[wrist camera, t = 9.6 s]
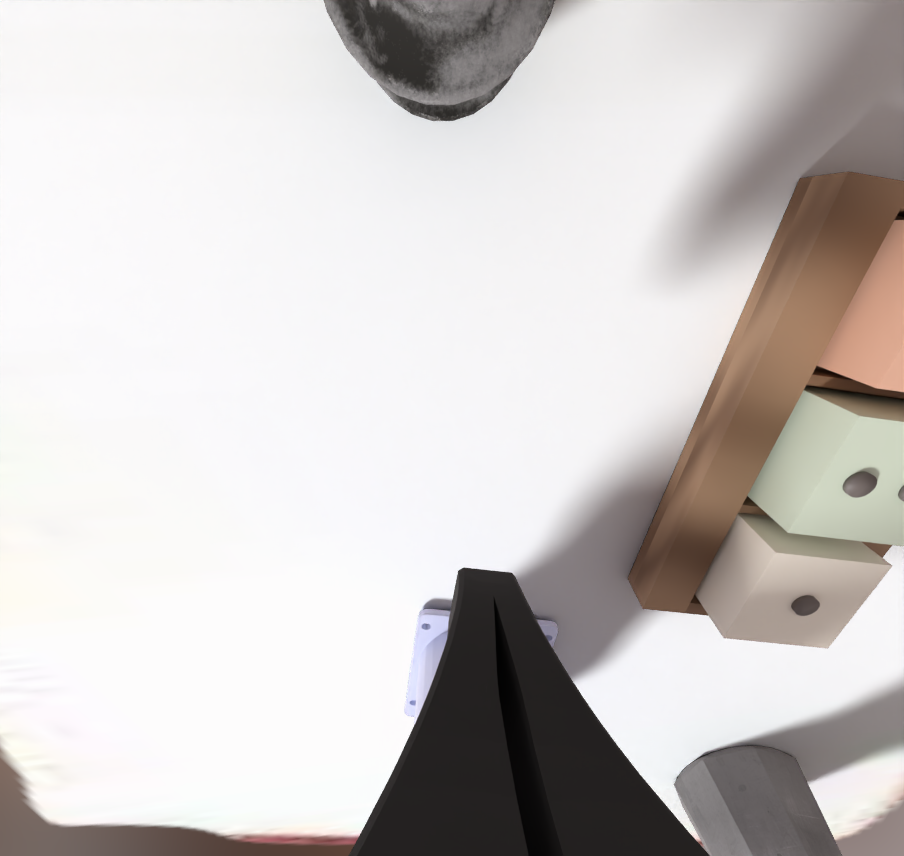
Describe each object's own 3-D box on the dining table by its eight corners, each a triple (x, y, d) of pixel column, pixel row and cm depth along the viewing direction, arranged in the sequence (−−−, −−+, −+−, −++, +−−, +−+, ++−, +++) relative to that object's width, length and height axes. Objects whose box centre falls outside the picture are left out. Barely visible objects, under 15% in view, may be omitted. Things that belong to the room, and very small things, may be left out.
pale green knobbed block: (839, 499, 19) (912, 550, 16) (737, 486, 19) (791, 536, 16) (904, 399, 17) (1001, 437, 14) (790, 384, 17) (864, 418, 14)
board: (800, 596, 23) (829, 627, 22) (627, 578, 23) (642, 608, 21) (1056, 222, 15) (1137, 221, 14) (799, 178, 15) (848, 171, 13)
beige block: (778, 593, 22) (831, 652, 19) (687, 583, 22) (726, 641, 19) (828, 516, 20) (896, 569, 17) (728, 504, 20) (779, 556, 17)
